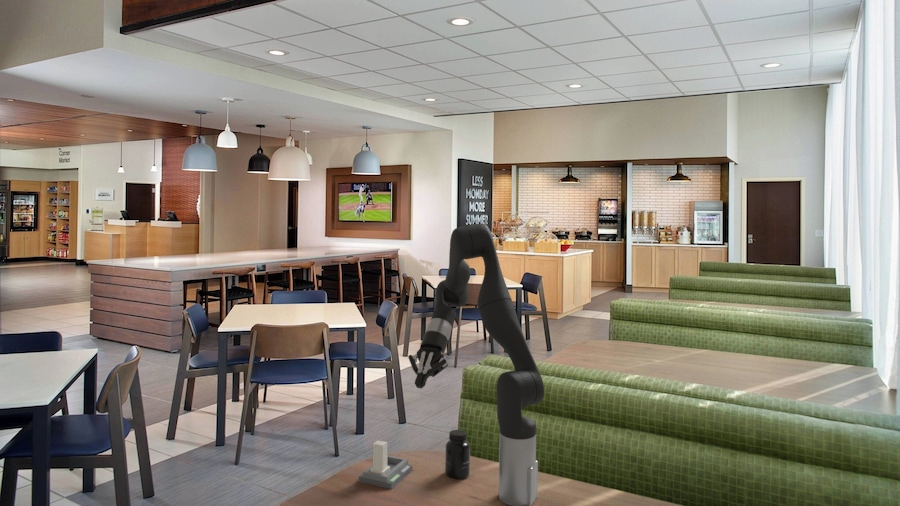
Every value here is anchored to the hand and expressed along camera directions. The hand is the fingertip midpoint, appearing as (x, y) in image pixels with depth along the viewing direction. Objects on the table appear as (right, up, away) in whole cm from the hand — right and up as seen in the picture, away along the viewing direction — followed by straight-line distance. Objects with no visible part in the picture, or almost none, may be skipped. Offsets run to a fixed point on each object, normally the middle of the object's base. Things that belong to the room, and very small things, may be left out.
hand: (418, 387), depth 176 cm
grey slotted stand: (-9, -23, -8) cm, 26 cm away
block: (-10, -21, -11) cm, 26 cm away
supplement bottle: (+11, -23, -7) cm, 26 cm away
